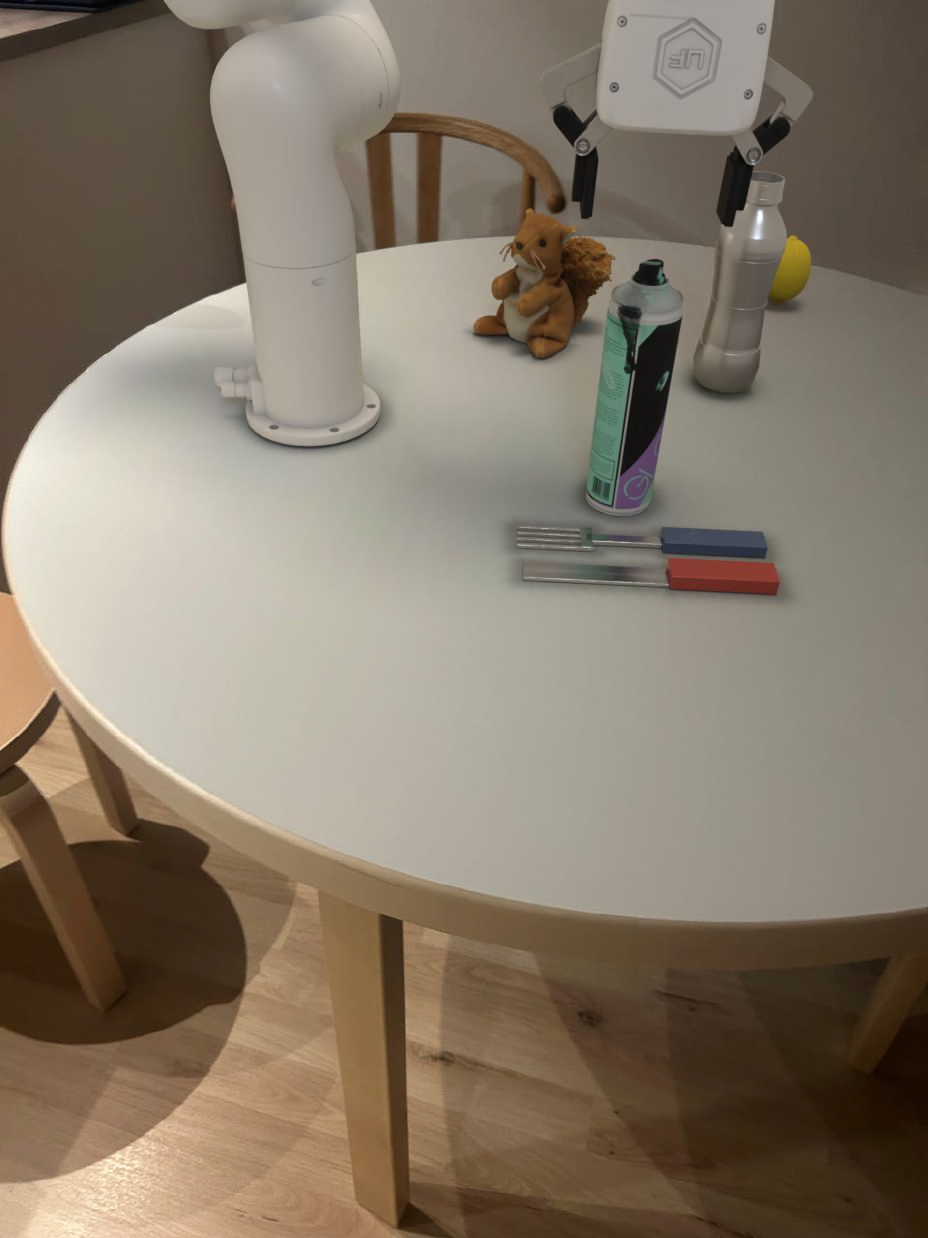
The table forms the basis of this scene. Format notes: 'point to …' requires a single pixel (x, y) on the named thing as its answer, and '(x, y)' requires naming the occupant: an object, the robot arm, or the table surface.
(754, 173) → the plastic bottle
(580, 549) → the fork
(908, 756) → the table surface
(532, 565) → the knife
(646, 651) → the table surface
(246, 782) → the table surface
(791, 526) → the table surface
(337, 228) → the robot arm
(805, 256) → the lemon
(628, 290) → the spray can
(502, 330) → the stuffed squirrel
